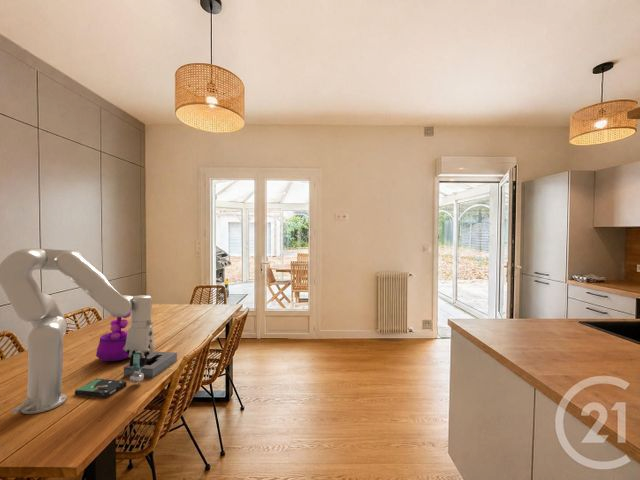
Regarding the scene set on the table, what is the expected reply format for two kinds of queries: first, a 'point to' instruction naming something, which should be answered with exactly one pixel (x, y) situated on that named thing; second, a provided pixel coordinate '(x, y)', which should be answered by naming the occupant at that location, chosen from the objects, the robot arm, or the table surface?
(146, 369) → the keyhole deck
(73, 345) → the table surface
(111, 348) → the decorative plant
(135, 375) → the teal rounded piece
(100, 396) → the disk drive
